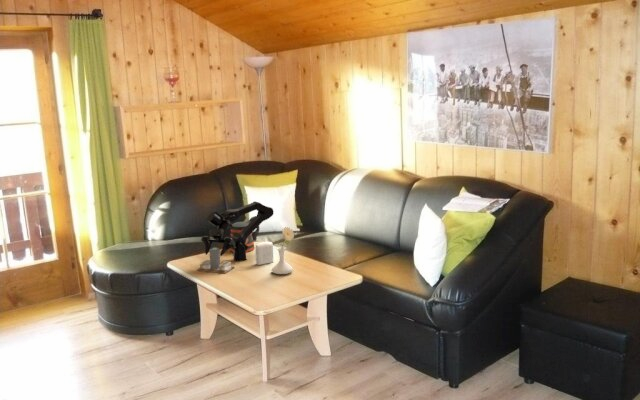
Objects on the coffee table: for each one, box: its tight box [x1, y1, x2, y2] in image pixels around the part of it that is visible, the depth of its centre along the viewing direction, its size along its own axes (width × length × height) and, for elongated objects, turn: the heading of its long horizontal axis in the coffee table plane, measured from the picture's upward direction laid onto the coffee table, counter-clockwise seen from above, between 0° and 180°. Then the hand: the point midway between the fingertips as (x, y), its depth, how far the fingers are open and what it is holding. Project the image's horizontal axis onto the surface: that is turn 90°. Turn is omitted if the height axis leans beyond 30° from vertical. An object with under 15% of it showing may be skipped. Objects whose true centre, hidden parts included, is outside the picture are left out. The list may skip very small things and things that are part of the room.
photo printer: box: [255, 241, 274, 266], centre depth 336 cm, size 10×4×12 cm, turn 123°
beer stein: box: [229, 215, 260, 253], centre depth 364 cm, size 19×15×20 cm
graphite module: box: [208, 247, 221, 269], centre depth 327 cm, size 4×4×11 cm
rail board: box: [196, 259, 235, 275], centre depth 328 cm, size 18×10×4 cm, turn 70°
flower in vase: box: [271, 226, 295, 275], centre depth 318 cm, size 13×11×25 cm
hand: (213, 254), depth 325 cm, fingers open, 9 cm apart
